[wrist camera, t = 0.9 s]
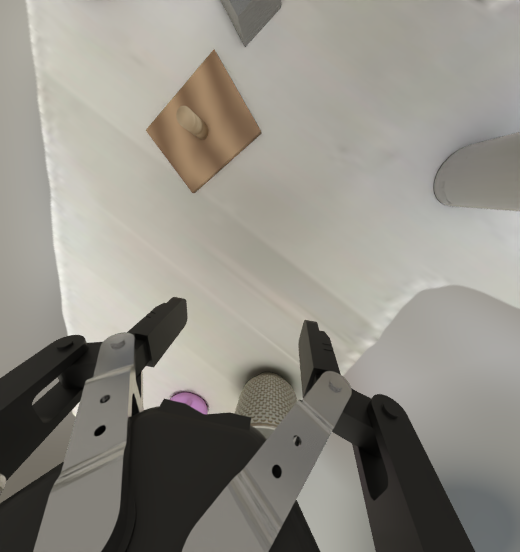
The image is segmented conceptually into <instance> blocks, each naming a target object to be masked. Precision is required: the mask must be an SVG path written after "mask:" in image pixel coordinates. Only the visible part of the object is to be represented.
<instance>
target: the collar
mask: <svg viewBox="0 0 520 552" xmlns="http://www.w3.org/2000/svg"><path fill="white" fill-rule="evenodd" d="M221 2H222V4H223V6H224V8H225V10H226V12H227V14H228V15H229V17H230V19H231V21H232V23H233V25H234V27H235V29H236V31H237V33H238V34H239V36H240V38H241V40H242V42H243V44H244V46H245V47H246V45H247V44H248V43H249V42H250V41H251V40H252V39H253V38H254V37H255V35H256V34H257V33H258V32H259V31H260V30H261V29H262V28H263V27H264V25H265V24H266V23H267V22H268V21H269V20H270V19H271V18H272V17H273V15H274V14H275V13H276V12H277V11H278V10H279V9H280V8H281V0H221Z"/></svg>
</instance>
